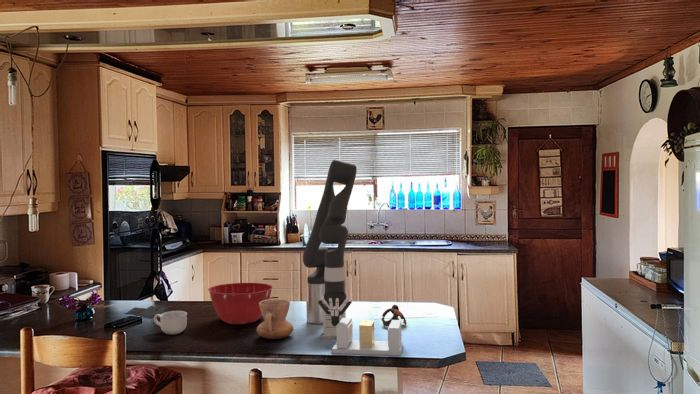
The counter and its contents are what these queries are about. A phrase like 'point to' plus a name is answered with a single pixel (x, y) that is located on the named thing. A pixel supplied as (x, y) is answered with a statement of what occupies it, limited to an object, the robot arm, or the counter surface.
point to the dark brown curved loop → (395, 315)
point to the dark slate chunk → (147, 311)
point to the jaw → (342, 333)
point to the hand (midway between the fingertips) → (335, 325)
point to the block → (366, 334)
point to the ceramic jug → (274, 319)
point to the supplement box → (327, 325)
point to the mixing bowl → (239, 301)
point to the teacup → (172, 321)
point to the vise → (378, 343)
